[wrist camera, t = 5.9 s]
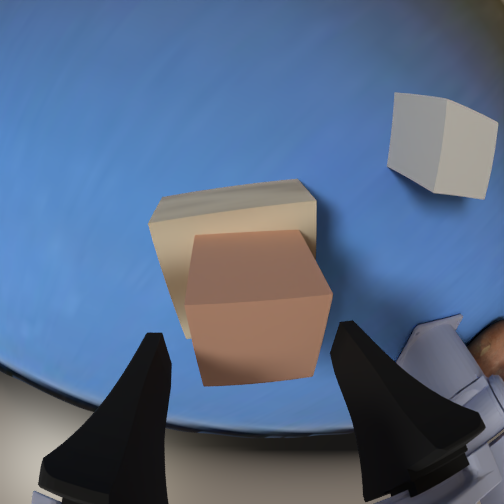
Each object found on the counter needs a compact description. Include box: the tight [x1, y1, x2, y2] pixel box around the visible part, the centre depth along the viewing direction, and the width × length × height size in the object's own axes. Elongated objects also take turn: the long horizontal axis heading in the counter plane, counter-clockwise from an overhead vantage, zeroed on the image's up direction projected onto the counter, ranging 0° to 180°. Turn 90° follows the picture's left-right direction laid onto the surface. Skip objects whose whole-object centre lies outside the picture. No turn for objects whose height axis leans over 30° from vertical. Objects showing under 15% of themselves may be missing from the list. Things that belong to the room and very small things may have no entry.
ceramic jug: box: [467, 320, 504, 381], centre depth 26 cm, size 18×14×14 cm
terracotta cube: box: [184, 230, 333, 386], centre depth 12 cm, size 5×5×5 cm
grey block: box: [387, 93, 498, 199], centre depth 13 cm, size 5×5×5 cm
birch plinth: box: [148, 179, 317, 339], centre depth 16 cm, size 8×8×4 cm
